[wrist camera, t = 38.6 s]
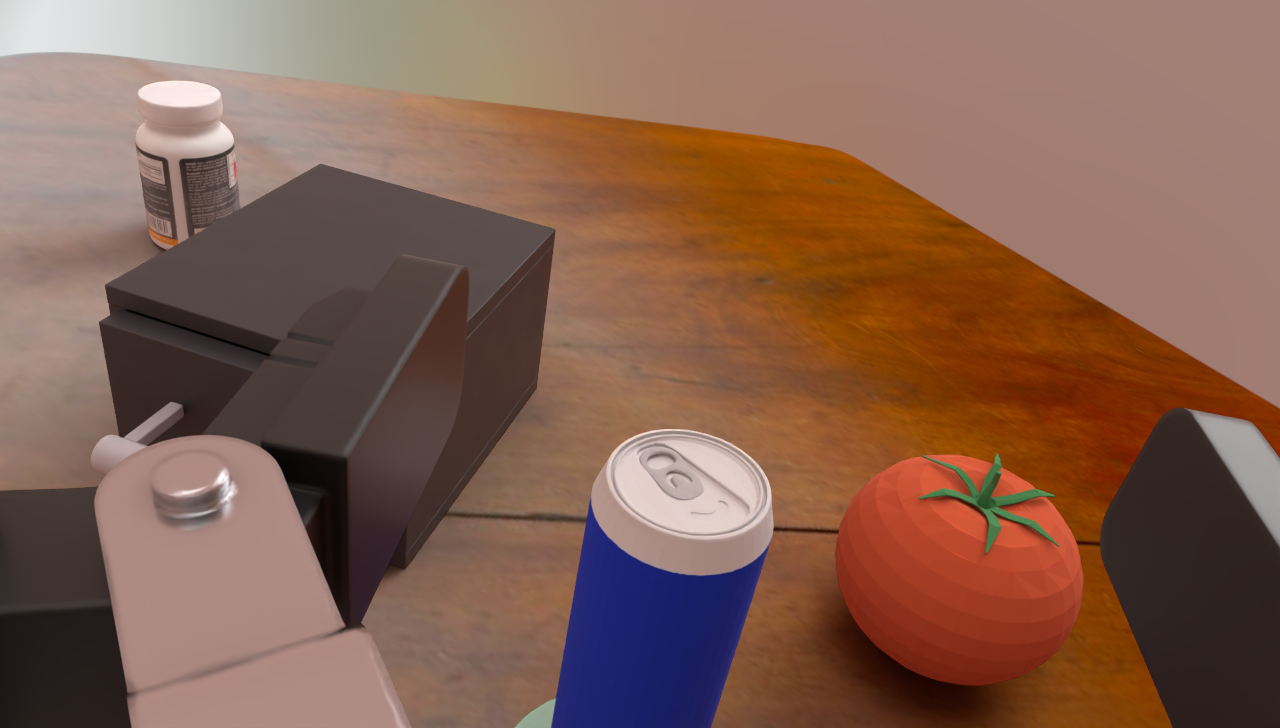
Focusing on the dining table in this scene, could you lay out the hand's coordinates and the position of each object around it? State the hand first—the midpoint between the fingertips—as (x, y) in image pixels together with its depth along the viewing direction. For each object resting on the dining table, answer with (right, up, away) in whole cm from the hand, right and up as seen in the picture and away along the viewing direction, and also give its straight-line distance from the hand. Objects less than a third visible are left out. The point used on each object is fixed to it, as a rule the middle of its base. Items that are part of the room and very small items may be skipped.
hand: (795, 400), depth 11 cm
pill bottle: (-32, +9, +52) cm, 62 cm away
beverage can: (-3, -15, +23) cm, 28 cm away
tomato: (+11, -12, +33) cm, 37 cm away
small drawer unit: (-17, -3, +39) cm, 42 cm away
